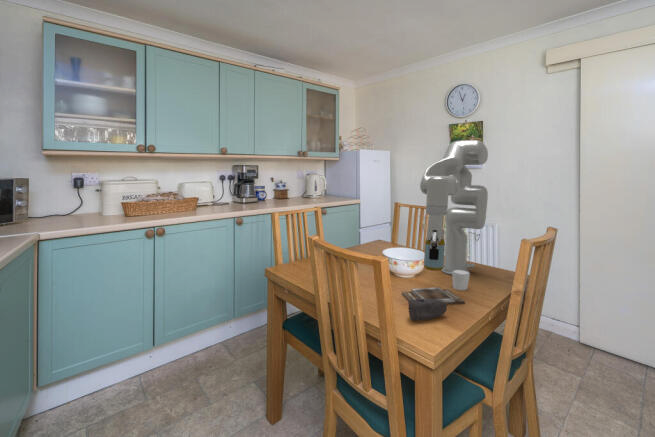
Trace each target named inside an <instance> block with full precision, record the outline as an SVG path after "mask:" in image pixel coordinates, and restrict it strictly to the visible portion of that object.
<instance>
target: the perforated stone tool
mask: <svg viewBox="0 0 655 437" xmlns="http://www.w3.org/2000/svg"><path fill="white" fill-rule="evenodd" d="M407 302H408V315H409V319H410V321H418V322H419V321H427V320H431V319H436V318H439V317H441V316H443V315H445V313H446V312H447V309H448V307H447V306H448V305H446V304H445V303H444V302H442V301H439V300H435V299H413V300H409V301H408V300H407Z"/></svg>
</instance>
